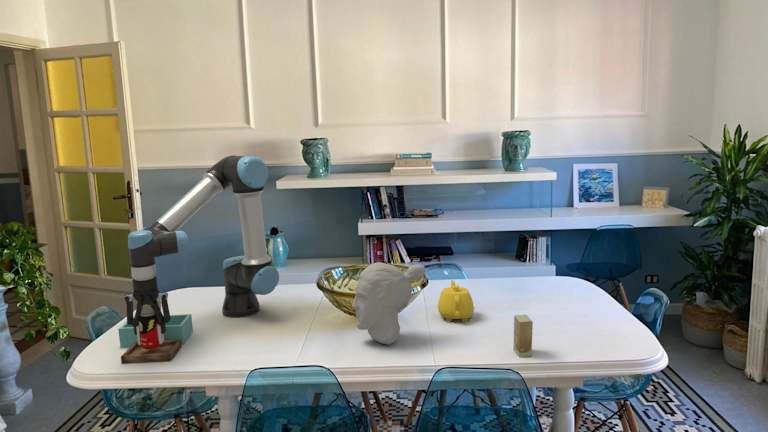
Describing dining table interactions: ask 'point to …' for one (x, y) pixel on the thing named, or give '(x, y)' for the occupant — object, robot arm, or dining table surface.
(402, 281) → the bust
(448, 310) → the teapot
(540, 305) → the dining table surface
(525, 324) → the skincare box
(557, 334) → the dining table surface
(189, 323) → the teal open box
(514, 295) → the dining table surface
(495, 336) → the dining table surface
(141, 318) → the beverage can
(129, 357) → the tray
